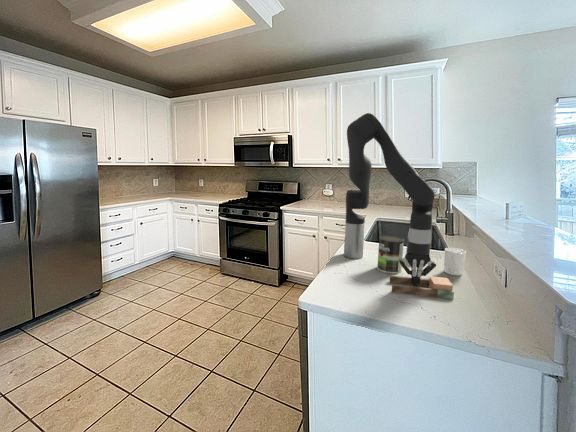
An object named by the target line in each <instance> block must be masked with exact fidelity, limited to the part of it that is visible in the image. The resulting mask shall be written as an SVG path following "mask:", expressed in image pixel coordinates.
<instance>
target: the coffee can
mask: <svg viewBox="0 0 576 432" xmlns="http://www.w3.org/2000/svg"><path fill="white" fill-rule="evenodd" d="M404 243H405V239H404V238H403V237H401V236H395V235H381V236H378V251H377V252H378V255H377V265H376V266H377V267H376V269H377V270H378V272H379V271H380V272H381V273H386V274H393V275H394V274H400V273H402V268H403V267H402V266H401V264H400V262H399V259H403V258H404V257H403V254H404Z"/></svg>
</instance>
